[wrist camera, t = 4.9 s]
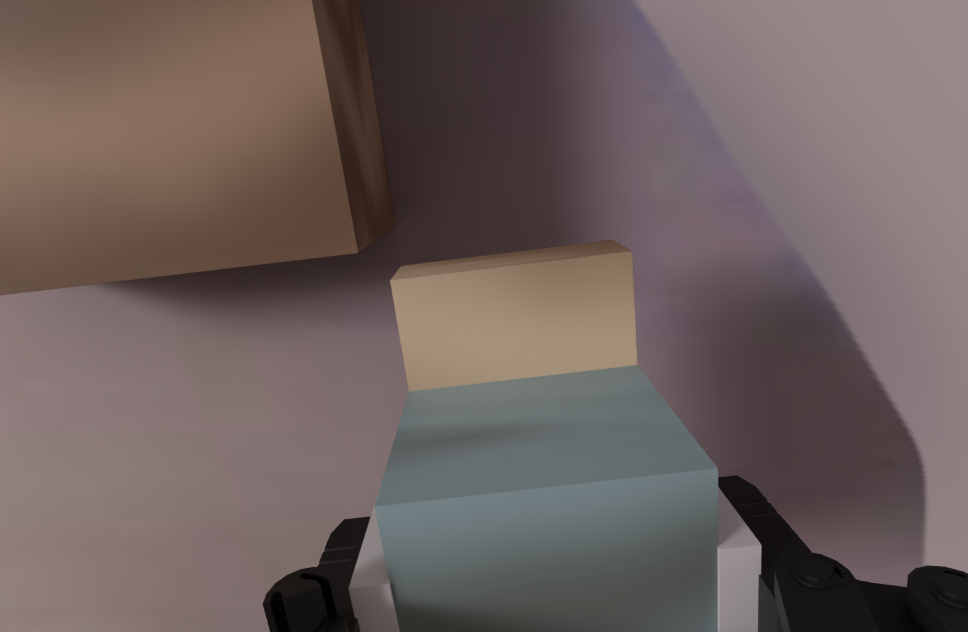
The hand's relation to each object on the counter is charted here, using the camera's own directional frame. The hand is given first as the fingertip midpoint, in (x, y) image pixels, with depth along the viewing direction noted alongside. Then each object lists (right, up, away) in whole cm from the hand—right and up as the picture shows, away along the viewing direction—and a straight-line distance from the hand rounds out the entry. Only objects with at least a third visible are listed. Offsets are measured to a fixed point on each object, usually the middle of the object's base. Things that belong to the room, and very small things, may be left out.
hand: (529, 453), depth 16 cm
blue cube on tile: (0, 0, +1) cm, 1 cm away
